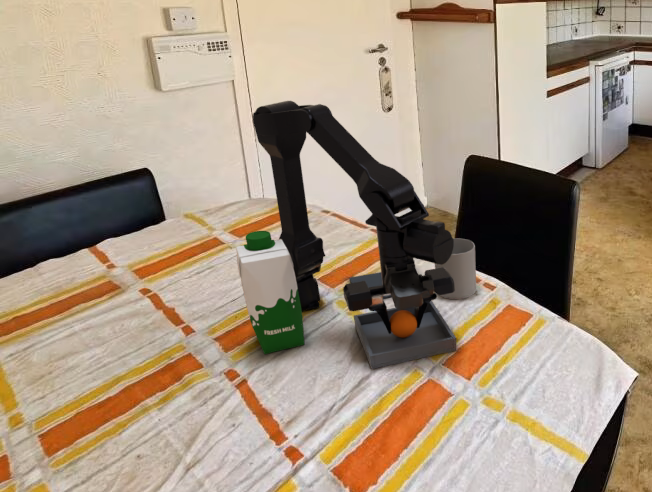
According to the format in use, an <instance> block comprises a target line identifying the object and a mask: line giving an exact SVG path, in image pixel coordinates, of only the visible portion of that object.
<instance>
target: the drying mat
mask: <svg viewBox="0 0 652 492" xmlns="http://www.w3.org/2000/svg"><path fill="white" fill-rule="evenodd" d="M361 281H366V284H367V286H368V288H369V287H374V286H380V285H383V284H382V275H381V271H380V272H375V273H369V274H363V275H356V276H351V277H349V283H355V282H361ZM389 298H392V296H391V295H387V296H383V300H384V299H389Z"/></svg>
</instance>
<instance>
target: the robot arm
mask: <svg viewBox="0 0 652 492" xmlns="http://www.w3.org/2000/svg"><path fill="white" fill-rule="evenodd" d="M252 123H253V127H254V131H255V134H256V138H257V141H258V143H259V144H260V146H261V147H262V148H263V149H264V151H265V152H266V153H267V154H268V156H269V159H270V164H271V171H272V177H273V183H274V189H275V195H276V196H275V197H276V203H277V209H278V215H279V221H280V228H281V233H280V235H279V237H278V239H282V241H283V243H284V245H285V246H286V248H287V249H288V252H289V254H290V256H291V259H292V262H293V265H292V266H294V267H293V269H294V273H295V277H296V282H297V288H298V293H299V299H300V304H301V310H302V312H304V311H311V310H315V309H319V308H320V307H321V306H320V303H319V302H321V294H320V289H319V283H318V280H317V278H316V277H314V274H317V273H319V272H321V270H322V269H321V267H322V264H323V263H324V258H325V257H326V253H325V250H324V240H323V238H322V237H318V236H317V235H316V234H315V233H314V232H313V231H312V229H311V227H310V221H309V214H308V206H307V199H306V191H305V184H304V176H303V169H302V161H301V152H302V149H303V147H304V145H305V142H306V139H307V134H308V135H309V137H311V138H312V139H313V140H314V142H316V143H317V144H318V145H319V146H320V147H321V148H322V149H323V151H325V153H327V155H328V156H329V157H330V158H331V159H332V160H333V161H334V162H335V163H336V164H337V165H338V166H339V167H340V168H341V170H343V171H344V173H346V174H347V176H349V178H351V180H352V181H353V182H354V183H355V185H356V188H357V192H358V196H359V198H360V199H361V201H362V202H363V204H364V205H365V206H366V208H367V209H368V211H369V212H370V213H371V215H370V216H369V217H368V218H367V219H366V220H365V224H366V225H368V226H372V227H375V230H376V238H377V248H378V255H379V257H378V258H379V266H380V272H381V275H382V284H383V285H380V286H374V287H369V288H368V286H367V284H366V281H361V282H355V283H351V282H349V283H345V285H344V286H343V287H342V291H343V292H342V293H343V298H344V300H345V304H346V306H347V308H348V310H349V312H358V311H363V310H368V311H370V312H375V311H376V312H377V313H378V314H379V315H380V317H381V318H382V320H383V322H384V324H385V326H386V328H387V331H388V333H389V334H391V326H390V322H389V318H388V314H387V309H388V307H387V305H386V303H385V300H384V299H383V296H387V295H391V296H392V297H391V300H392V302H393V306H394V308H396V309H398V310H404V309H406V308H410V307H414V316H415V318H416V320H417V328H419V327H420V324H421V321H422V318H423V315H424V312H425V309H426V307H427V305H428V303H429V302H430V301H432V302H433V301H434V300H436V299H438V296H440V295H444V294H449V293H453V292H454V291H455V285H454V280H453V278H452V276H451V275H450V274H449V273H448V271H447V270H446V269H445V268H443V267H442V268H436V269H435V268H431V269H425V271H424V275H423V274H422V273H421V274H419V273H418V271H417V268H416V262H415V260H414V259H416V260H419V261H423V262H428V263H432V264H434V265H435V264H439V265H442V264H445V263H446V262H447V261H448V260H449V258H450V257H451V254H452V251H453V247H454V238H453V235H452V233H451V232H450V231H449V230H448V229H446V224H445V222H443V221H434V220H428V219H426V218H428V217H429V215H430V214H429V212H428V210H427V209H426V207H425V204H423V202H422V200H421V199H420V197H419V195H418V194H417V192H416V191H415V187H414V185H413V184H412V183H411V181H410V179H408V178H407V177H405V176H404V175H403V174H402V173H401V172H400V171H398V170H397V169H395V168H394V167H391V166H388V165H386V164H383V163H381V162H379V161H378V160H376V159H375V158H374V156H372V155H371V154H370V153H369V151H367V149H366V148H364V146H363V145H362V144H360V142H359V141H358V140H357V139H356V138H355V137H354V136H353V135H352V134H351V133H350V132H349V131H348V130H347V129H346V128H345V127H344V125H342V123H340V122H339V120H338V119H337V118H335V116H333V113H332V110H331V109H330V108H329V107H328V106H327V105H325V104H321V103H318V104H303V105H299V104H297V102H295V101H292V100H284V101H280V102H275V103H271V104H265V105H261V106H258V107H257V108H256V110H255V111H254V112H253V114H252ZM408 209H409V210H410V211H408V212H406V213H404V214H402V215H399V216H398V215H397V214H399V213H401V212H404V211H406V210H408Z"/></svg>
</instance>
